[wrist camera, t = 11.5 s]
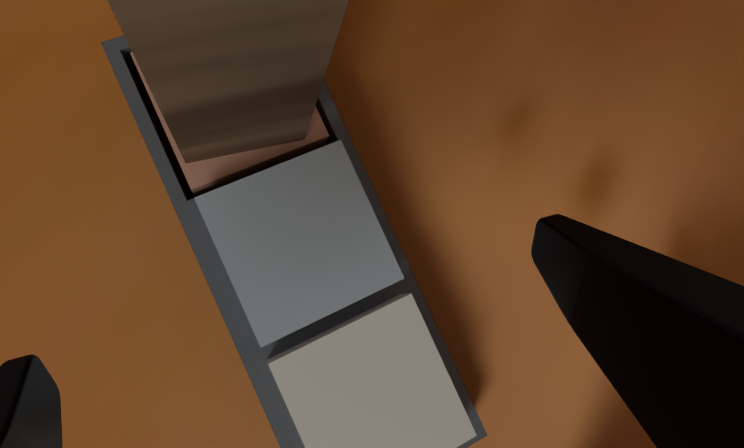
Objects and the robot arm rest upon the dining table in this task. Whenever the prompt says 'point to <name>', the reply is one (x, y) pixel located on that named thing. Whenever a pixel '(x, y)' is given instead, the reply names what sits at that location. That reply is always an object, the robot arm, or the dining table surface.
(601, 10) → the dining table surface
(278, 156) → the terracotta key
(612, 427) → the dining table surface
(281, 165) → the key pad
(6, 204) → the dining table surface
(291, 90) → the walnut stylus post
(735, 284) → the robot arm
